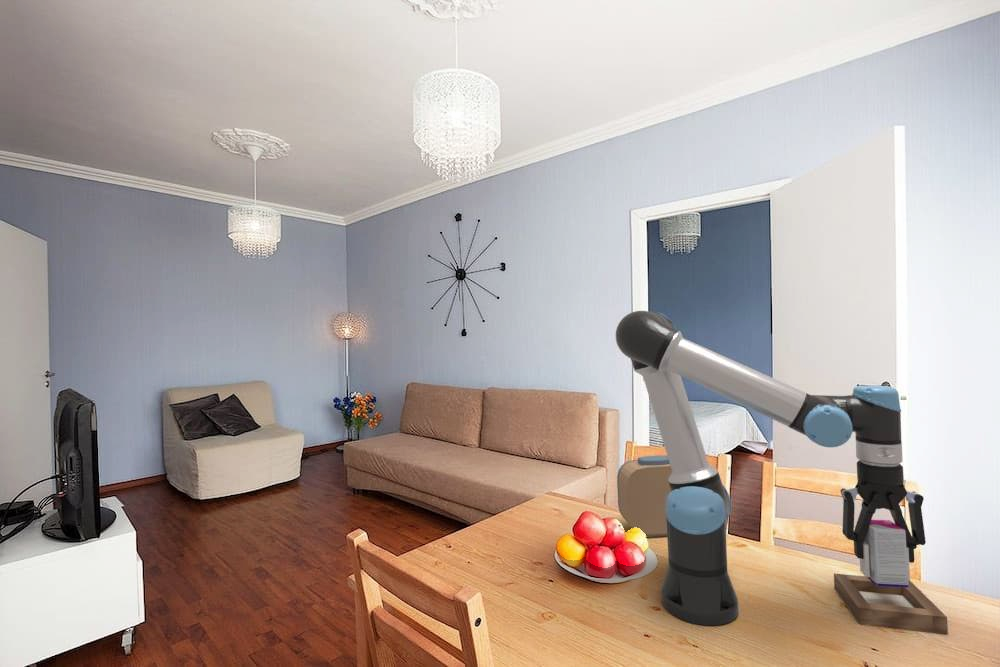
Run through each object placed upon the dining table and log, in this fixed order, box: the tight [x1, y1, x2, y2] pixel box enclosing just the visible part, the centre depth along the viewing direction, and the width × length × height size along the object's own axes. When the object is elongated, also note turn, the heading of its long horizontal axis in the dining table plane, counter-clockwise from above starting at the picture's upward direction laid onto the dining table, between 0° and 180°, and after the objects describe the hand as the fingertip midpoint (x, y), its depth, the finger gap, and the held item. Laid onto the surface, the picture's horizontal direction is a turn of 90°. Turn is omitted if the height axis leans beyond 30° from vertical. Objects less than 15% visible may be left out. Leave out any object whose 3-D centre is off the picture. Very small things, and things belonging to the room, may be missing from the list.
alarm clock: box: [616, 455, 672, 538], centre depth 144 cm, size 21×10×22 cm, turn 94°
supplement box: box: [864, 519, 909, 588], centre depth 100 cm, size 6×6×12 cm
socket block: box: [833, 573, 949, 635], centre depth 100 cm, size 14×14×3 cm
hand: (884, 575), depth 100 cm, fingers closed on supplement box, 6 cm apart
